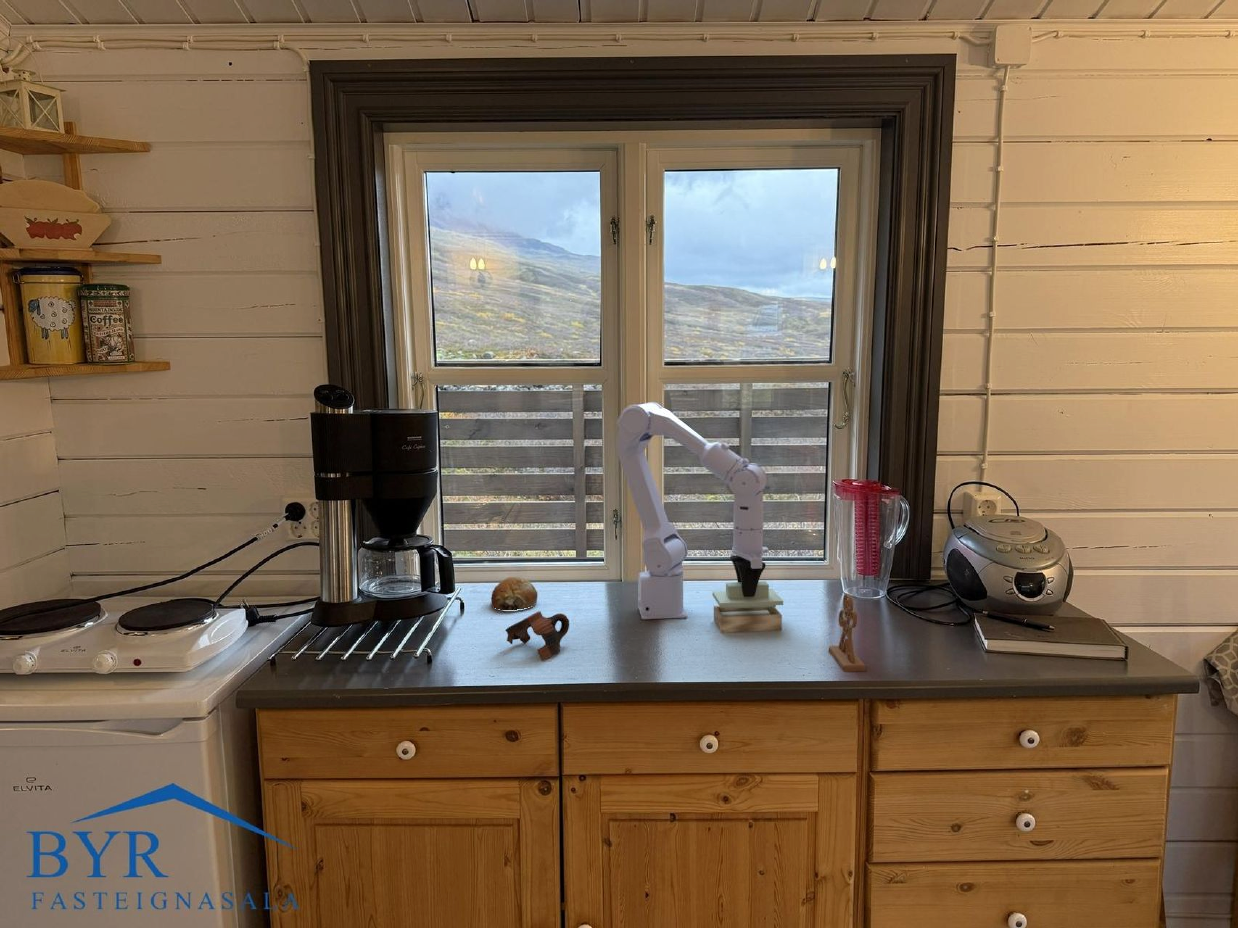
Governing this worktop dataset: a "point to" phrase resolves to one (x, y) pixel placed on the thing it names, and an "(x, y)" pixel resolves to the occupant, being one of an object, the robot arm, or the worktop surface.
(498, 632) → the worktop surface
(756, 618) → the box
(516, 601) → the bread roll
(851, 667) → the tan tall carved piece
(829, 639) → the worktop surface
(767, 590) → the lid
